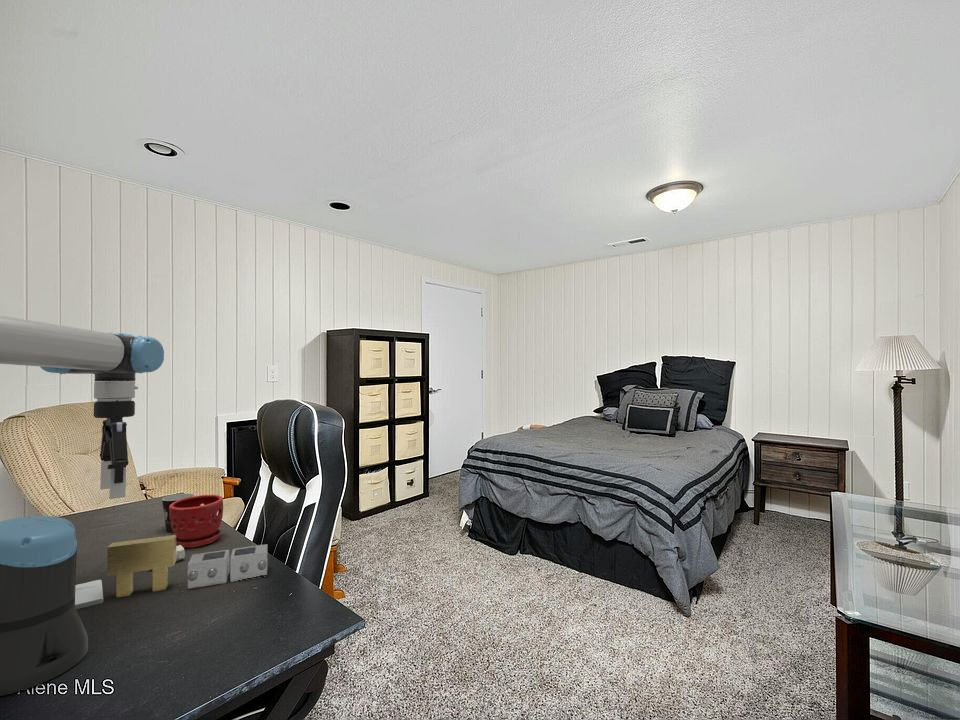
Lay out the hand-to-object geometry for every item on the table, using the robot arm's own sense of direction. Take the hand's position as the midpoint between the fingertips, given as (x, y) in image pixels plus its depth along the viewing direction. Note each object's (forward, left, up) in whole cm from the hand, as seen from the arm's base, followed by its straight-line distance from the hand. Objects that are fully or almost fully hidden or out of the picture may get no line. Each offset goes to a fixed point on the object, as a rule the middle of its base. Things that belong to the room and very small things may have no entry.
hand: (112, 493), depth 108 cm
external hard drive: (-5, +4, -22) cm, 23 cm away
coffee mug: (+37, -7, -21) cm, 43 cm away
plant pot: (+23, -14, -21) cm, 34 cm away
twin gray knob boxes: (-7, -25, -21) cm, 33 cm away
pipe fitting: (+10, -8, -21) cm, 24 cm away
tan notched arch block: (-7, -8, -21) cm, 23 cm away
